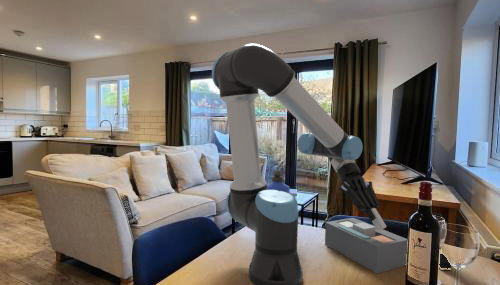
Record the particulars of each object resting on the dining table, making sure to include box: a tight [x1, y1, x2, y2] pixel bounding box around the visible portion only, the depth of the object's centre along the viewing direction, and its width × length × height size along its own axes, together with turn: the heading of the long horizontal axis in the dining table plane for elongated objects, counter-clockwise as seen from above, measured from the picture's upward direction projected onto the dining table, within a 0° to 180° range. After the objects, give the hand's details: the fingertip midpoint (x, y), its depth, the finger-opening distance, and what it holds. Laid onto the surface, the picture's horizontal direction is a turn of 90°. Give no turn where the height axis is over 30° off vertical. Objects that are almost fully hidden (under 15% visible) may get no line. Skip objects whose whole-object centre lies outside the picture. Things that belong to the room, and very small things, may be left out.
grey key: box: [353, 221, 376, 237], centre depth 99 cm, size 5×5×3 cm
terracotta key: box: [371, 235, 394, 243], centre depth 92 cm, size 5×5×3 cm
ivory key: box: [339, 221, 354, 229], centre depth 106 cm, size 5×5×3 cm
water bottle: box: [267, 170, 291, 194], centre depth 114 cm, size 9×9×25 cm
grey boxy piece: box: [324, 217, 407, 274], centre depth 99 cm, size 23×13×8 cm, turn 25°
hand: (382, 228), depth 92 cm, fingers closed
